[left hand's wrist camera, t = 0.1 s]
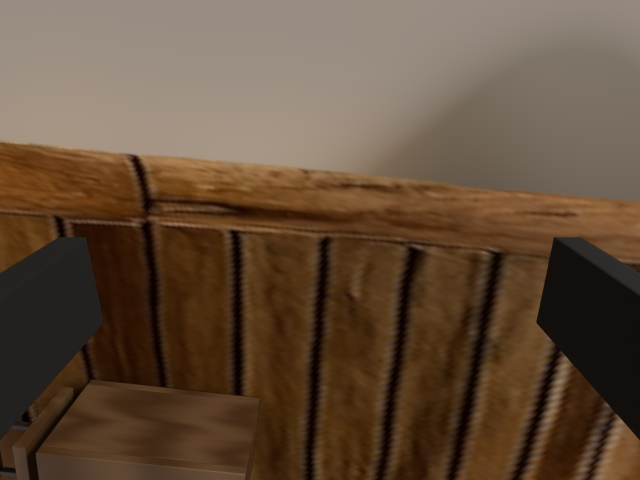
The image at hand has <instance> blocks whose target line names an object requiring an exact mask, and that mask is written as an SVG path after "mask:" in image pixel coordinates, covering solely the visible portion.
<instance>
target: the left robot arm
mask: <svg viewBox="0 0 640 480" xmlns="http://www.w3.org/2000/svg"><path fill="white" fill-rule="evenodd" d="M103 323H104V322H103V317H102V312H101V308H100V303H99V298H98V293H97V288H96V283H95V279H94V274H93V269H92V264H91V259H90V255H89V250H88V245H87V240H86V238H57V239H55V240H54V241H52V242H51V243H49V244H47V245H46V246H44V247H42V248H41V249H39V250H38V251H36V252H34V253H33V254H31V255H29V256H28V257H26V258H25V259H23V260H21V261H20V262H18V263H16V264H15V265H13V266H11V267H10V268H8V269H7V270H5V271H3V272H2V273H0V440H1V439H2V438H3V436H4V435H5V434H6V433H7V432H8V431H9V430H10V428H11V427H12V426H13V425H14V424H15V423H16V422H17V420H18V419H19V418H20V417H21V416H22V415H23V414H24V413H25V411H26V410H27V409H28V408H29V407H30V406H31V405H32V403H33V402H34V401H35V400H36V399H37V398H38V397H39V396H40V394H41V393H42V392H43V391H44V390H45V389H46V388H47V386H48V385H49V384H50V383H51V382H52V381H53V380H54V378H55V377H56V376H57V375H58V374H59V373H60V372H61V371H62V369H63V368H64V367H65V366H66V365H67V364H68V363H69V361H70V360H71V359H72V358H73V357H74V356H75V355H76V353H77V352H78V351H79V350H80V349H81V348H82V347H83V346H84V344H85V343H86V342H87V341H88V340H89V339H90V338H91V336H92V335H93V334H94V333H95V332H96V331H97V330H98V329H99V327H100V326H101V325H102V324H103ZM536 323H537V324H538V325H539V326H540V327H541V329H542V330H543V331H544V332H545V333H546V334H547V335H548V336H549V338H550V339H551V340H552V341H553V342H554V343H555V344H556V346H557V347H558V348H559V349H560V350H561V351H562V352H563V353H564V355H565V356H566V357H567V358H568V359H569V360H570V361H571V363H572V364H573V365H574V366H575V367H576V368H577V369H578V371H579V372H580V373H581V374H582V375H583V376H584V377H585V378H586V380H587V381H588V382H589V383H590V384H591V385H592V386H593V388H594V389H595V390H596V391H597V392H598V393H599V394H600V396H601V397H602V398H603V399H604V400H605V401H606V402H607V403H608V405H609V406H610V407H611V408H612V409H613V410H614V411H615V413H616V414H617V415H618V416H619V417H620V418H621V419H622V420H623V422H624V423H625V424H626V425H627V426H628V427H629V428H630V430H631V431H632V432H633V433H634V434H635V435H636V436H637V438H638V439H639V440H640V273H638V272H637V271H635V270H633V269H632V268H630V267H629V266H627V265H625V264H624V263H622V262H620V261H619V260H617V259H615V258H614V257H612V256H611V255H609V254H607V253H606V252H604V251H602V250H601V249H599V248H598V247H596V246H594V245H593V244H591V243H589V242H588V241H586V240H585V239H583V238H554V240H553V245H552V250H551V255H550V259H549V264H548V269H547V274H546V279H545V283H544V288H543V293H542V298H541V303H540V308H539V312H538V317H537V322H536Z"/></svg>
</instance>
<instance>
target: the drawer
mask: <svg viewBox="0 0 640 480" xmlns="http://www.w3.org/2000/svg"><path fill="white" fill-rule="evenodd" d="M73 403H74V390H73V388H71V387H62V388H61V389H60V390H59V391H58V393H57V394H56V395H55V396H54V397H53V399H52V400H51V401H50V402H49V403H48V405H47V406H46V407H45V408H44V409H43V411H42V412H41V413H40V414H39V415H38V417H37V418H36V419H35V420H34V421H33V423H29V422H20V421H17V422H16V423H15V424H14V425H13V426H12V427H11V428H10V429H12V430H22V431H25V432H24V433H23V435H22V436H21V437H20V438H19V439H18V441H17V442H16V443H15V444H14V445H13V447H12V449H13V456H14V462H15V468H7V467H3V464H2V458H1V452H0V476H10V477H17V480H39V475H38V467H37V459H36V452H37V451H38V450H39V448H40V447H41V445H42V444H43V443H44V441H45V440H46V439H47V437H48V436H49V435H50V433H51V432H52V431H53V429H54V428H55V427H56V425H57V424H58V423H59V421H60V420H61V419H62V418H63V416H64V415H65V414H66V412H67V411H68V410H69V408H70V407H71V406H72V404H73Z"/></svg>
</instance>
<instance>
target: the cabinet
mask: <svg viewBox="0 0 640 480" xmlns="http://www.w3.org/2000/svg"><path fill="white" fill-rule="evenodd" d="M259 401H260V398H254V397H245V396H236V395H227V394H218V393H209V392H200V391H191V390H182V389H173V388H164V387H155V386H146V385H137V384H128V383H118V382H109V381H100V380H91V381H90V382H89V383H88V385H87V386H86V387H85V388H84V390H83V391H82V392H81V394H80V395H79V396H78V398H77V399H76V400H75V402H74V403H73V404H72V406H71V407H70V408H69V410H68V411H67V412H66V414H65V415H64V416H63V418H62V419H61V420H60V421H59V423H58V424H57V425H56V427H55V428H54V429H53V431H52V432H51V433H50V435H49V436H48V437H47V439H46V440H45V441H44V443H43V444H42V445H41V447H40V448H39V450H38V451H37V452H36V459H37V467H38V475H39V480H250V478H251V472H252V465H253V456H254V447H255V438H256V429H257V419H258V410H259Z"/></svg>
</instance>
